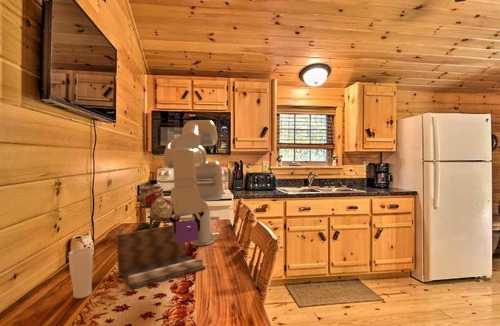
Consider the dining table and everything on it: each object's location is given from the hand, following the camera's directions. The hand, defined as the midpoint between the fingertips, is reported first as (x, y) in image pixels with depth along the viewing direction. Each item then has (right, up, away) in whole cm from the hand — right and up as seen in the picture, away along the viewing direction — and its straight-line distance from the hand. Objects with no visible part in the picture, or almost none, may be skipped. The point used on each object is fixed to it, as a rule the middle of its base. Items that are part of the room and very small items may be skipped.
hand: (187, 232), depth 106 cm
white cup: (-33, -20, -7) cm, 39 cm away
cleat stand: (-13, -18, +12) cm, 25 cm away
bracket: (0, -2, -1) cm, 2 cm away
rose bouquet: (-34, -18, +76) cm, 85 cm away
